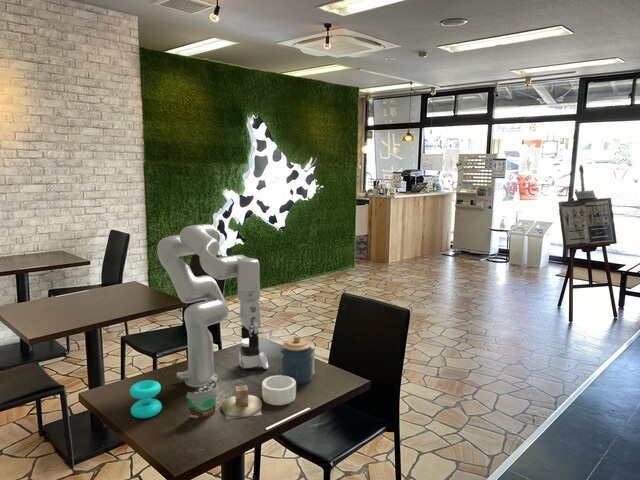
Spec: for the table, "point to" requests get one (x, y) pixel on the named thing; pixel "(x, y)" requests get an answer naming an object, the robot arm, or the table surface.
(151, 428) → the table surface
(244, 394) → the lid
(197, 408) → the food container
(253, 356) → the spread jar
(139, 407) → the donuts
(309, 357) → the canister
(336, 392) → the table surface
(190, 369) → the robot arm
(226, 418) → the mat
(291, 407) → the table surface
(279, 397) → the bowl
